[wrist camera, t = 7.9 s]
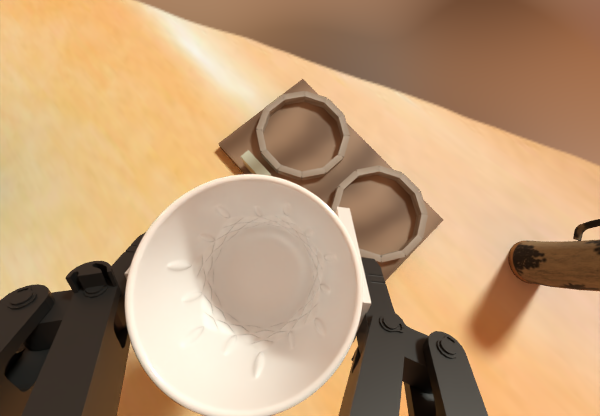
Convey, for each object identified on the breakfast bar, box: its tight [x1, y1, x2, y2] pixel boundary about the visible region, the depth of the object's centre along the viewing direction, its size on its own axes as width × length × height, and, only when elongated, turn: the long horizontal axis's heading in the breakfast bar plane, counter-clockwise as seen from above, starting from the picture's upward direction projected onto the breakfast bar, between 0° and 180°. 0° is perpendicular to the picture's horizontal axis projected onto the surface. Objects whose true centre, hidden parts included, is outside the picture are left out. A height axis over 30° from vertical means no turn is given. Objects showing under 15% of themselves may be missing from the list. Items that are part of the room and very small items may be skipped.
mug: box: [509, 219, 600, 291], centre depth 27 cm, size 8×6×12 cm
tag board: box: [219, 79, 443, 281], centre depth 31 cm, size 27×15×4 cm, turn 43°
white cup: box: [125, 174, 363, 416], centre depth 13 cm, size 8×8×10 cm
